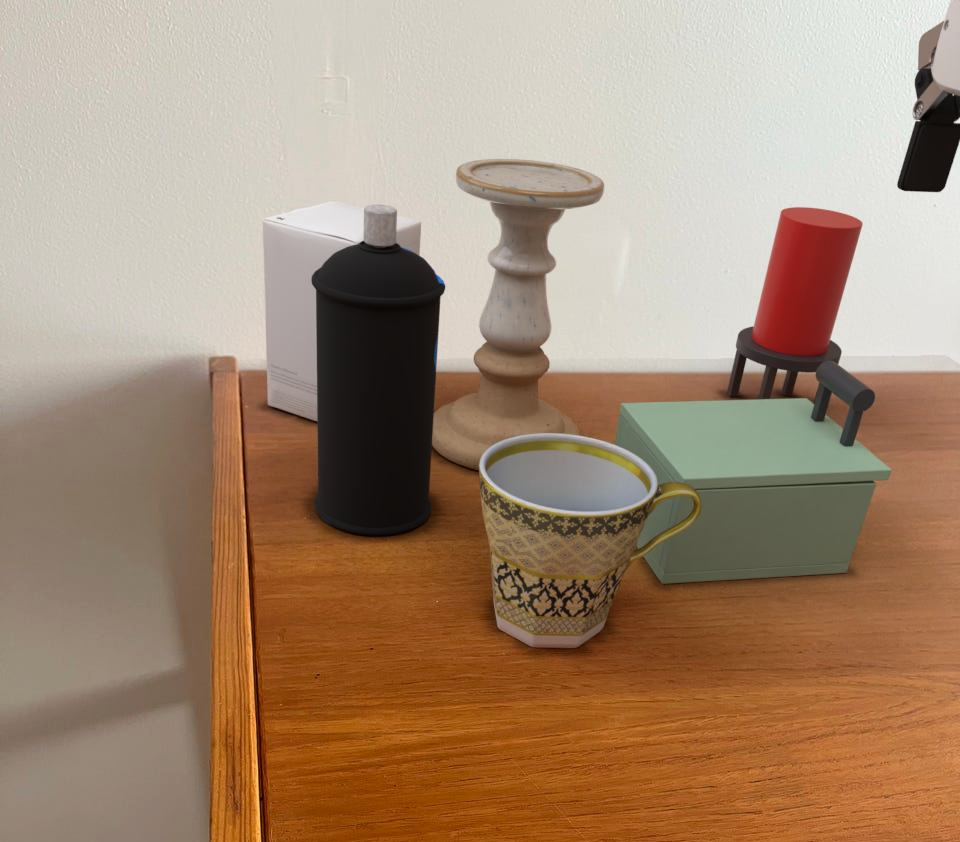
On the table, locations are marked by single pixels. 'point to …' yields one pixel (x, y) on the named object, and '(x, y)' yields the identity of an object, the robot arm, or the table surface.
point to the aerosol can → (376, 381)
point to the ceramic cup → (565, 531)
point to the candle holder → (513, 306)
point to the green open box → (752, 527)
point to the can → (805, 280)
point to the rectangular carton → (306, 292)
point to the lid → (761, 437)
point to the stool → (774, 364)
